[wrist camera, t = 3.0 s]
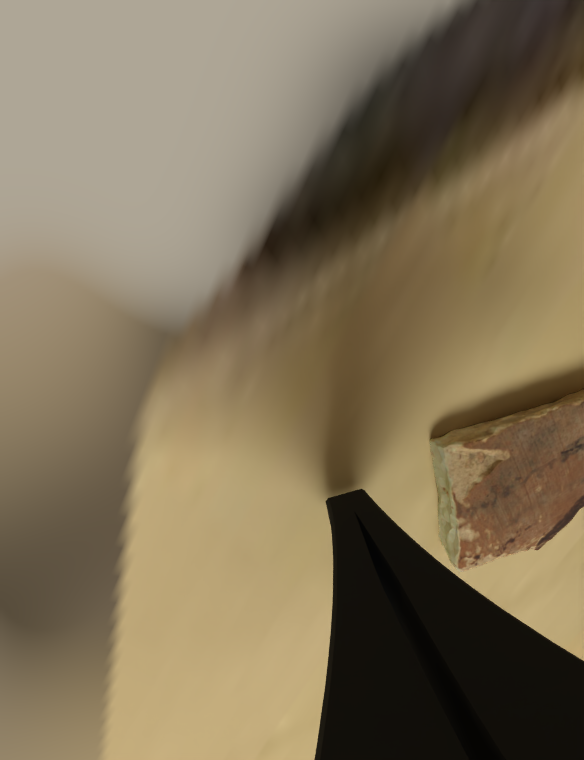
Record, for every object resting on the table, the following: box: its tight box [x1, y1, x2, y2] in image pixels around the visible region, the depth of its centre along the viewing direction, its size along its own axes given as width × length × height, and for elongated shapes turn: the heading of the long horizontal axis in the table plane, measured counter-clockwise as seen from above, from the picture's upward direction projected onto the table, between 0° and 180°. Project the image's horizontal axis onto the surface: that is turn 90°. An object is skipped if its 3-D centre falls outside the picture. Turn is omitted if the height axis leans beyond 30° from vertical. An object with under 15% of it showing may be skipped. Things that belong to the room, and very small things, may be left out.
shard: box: [430, 389, 584, 572], centre depth 12 cm, size 11×8×2 cm
